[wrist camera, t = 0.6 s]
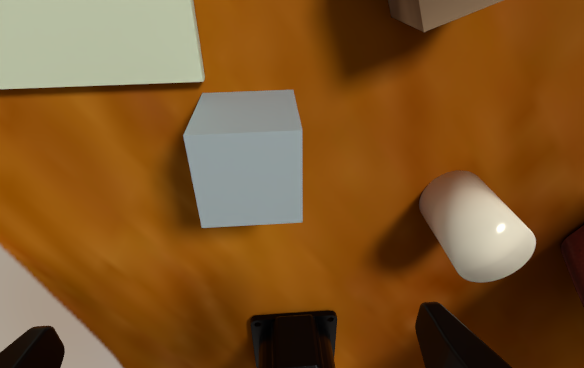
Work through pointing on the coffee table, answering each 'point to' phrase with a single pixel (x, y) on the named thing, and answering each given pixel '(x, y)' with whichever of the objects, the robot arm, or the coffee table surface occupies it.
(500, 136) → the coffee table surface
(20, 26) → the felt mat
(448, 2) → the walnut cube
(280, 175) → the slate-blue block
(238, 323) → the coffee table surface
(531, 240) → the ivory rounded cylinder
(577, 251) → the plant pot
